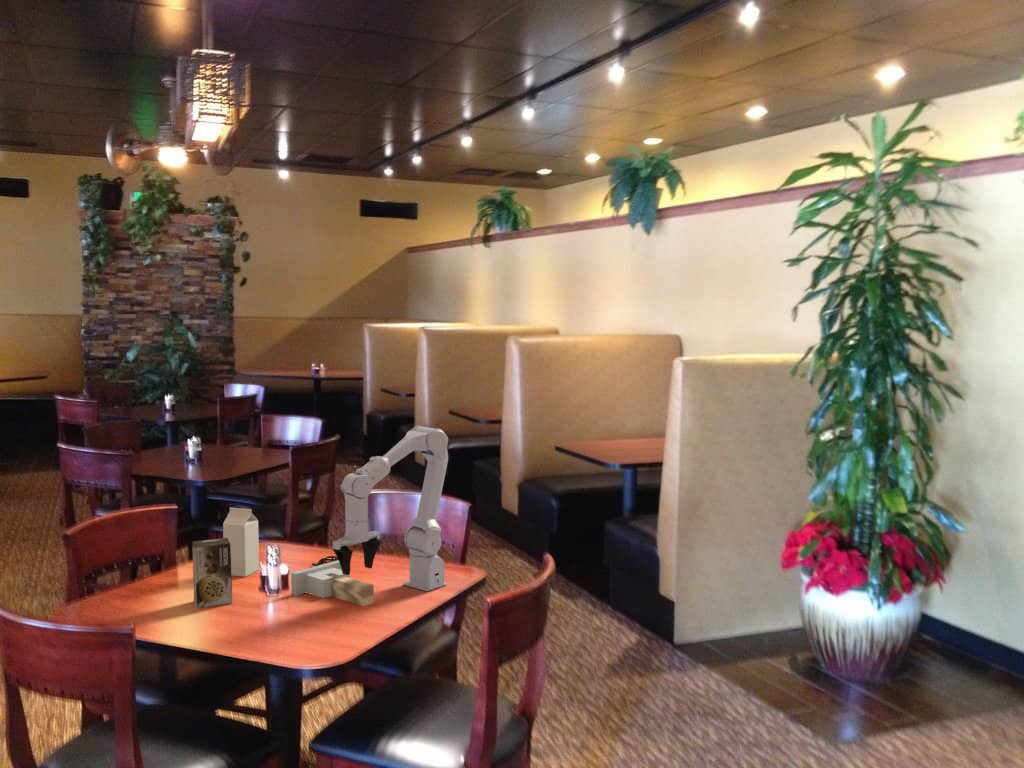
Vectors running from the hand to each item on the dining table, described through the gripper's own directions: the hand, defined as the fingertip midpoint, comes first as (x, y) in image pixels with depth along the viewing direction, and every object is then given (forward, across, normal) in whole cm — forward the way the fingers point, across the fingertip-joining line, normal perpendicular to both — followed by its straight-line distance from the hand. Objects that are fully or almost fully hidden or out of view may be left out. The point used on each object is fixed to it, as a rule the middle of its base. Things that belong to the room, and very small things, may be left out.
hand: (357, 570), depth 230 cm
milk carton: (+8, +5, -45) cm, 46 cm away
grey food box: (+8, +25, -28) cm, 38 cm away
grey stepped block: (+8, 0, -12) cm, 14 cm away
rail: (+8, 0, -3) cm, 9 cm away
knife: (+9, -11, -30) cm, 33 cm away
